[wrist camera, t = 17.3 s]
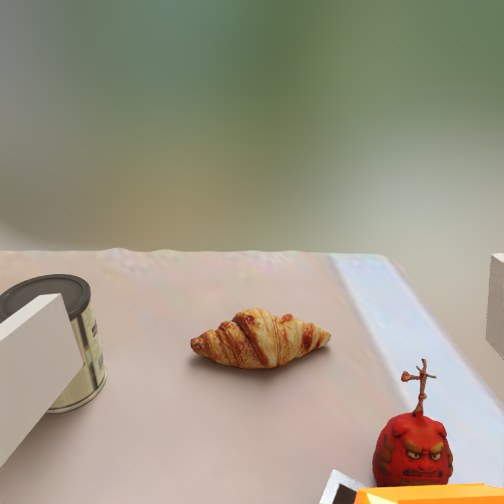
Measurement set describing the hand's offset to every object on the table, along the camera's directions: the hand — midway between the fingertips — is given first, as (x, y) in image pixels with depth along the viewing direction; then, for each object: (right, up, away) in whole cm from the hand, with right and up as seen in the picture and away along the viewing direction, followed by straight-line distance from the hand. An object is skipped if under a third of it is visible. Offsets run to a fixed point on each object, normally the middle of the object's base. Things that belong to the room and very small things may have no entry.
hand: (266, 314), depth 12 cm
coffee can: (-25, -16, +41) cm, 50 cm away
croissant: (+1, -13, +47) cm, 49 cm away
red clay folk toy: (+16, -23, +31) cm, 41 cm away
